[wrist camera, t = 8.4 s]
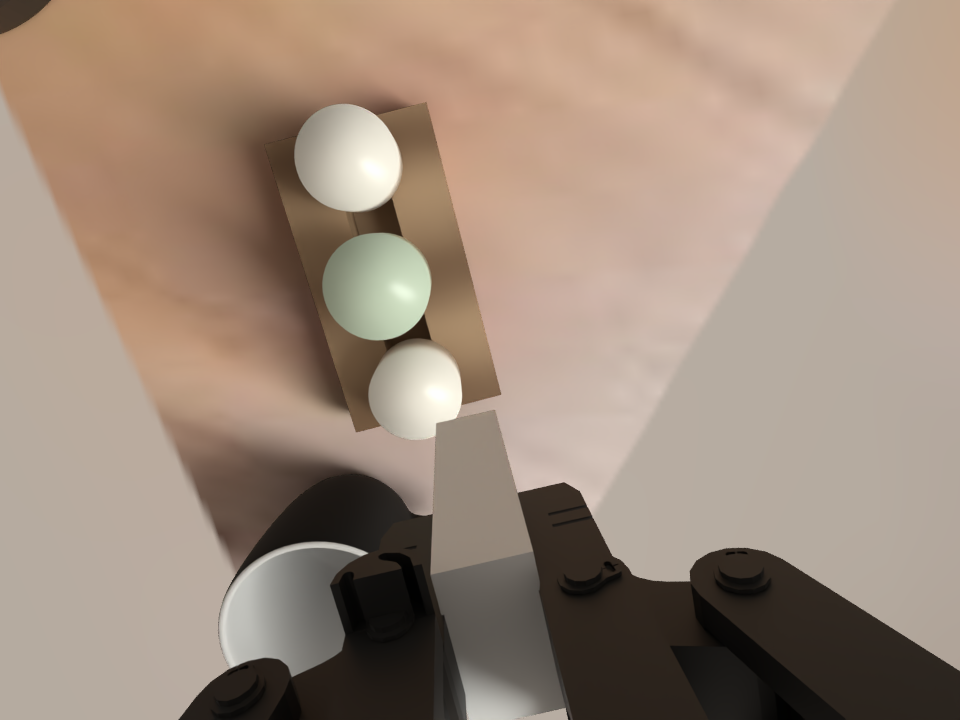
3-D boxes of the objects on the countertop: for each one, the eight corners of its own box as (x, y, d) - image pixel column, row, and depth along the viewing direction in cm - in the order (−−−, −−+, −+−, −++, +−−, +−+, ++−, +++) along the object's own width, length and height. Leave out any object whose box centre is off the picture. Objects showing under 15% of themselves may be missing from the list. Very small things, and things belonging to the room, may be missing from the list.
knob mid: (333, 244, 29) (308, 248, 24) (419, 222, 29) (413, 221, 24) (358, 330, 30) (340, 351, 25) (442, 308, 30) (441, 325, 25)
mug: (300, 601, 37) (248, 737, 27) (261, 470, 35) (189, 565, 25) (489, 562, 37) (505, 683, 28) (461, 429, 35) (466, 507, 26)
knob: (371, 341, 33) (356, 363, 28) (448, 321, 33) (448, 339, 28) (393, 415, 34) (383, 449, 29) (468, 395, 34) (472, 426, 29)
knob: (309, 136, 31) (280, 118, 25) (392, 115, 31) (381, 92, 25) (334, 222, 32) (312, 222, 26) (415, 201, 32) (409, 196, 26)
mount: (280, 152, 31) (264, 144, 29) (428, 113, 31) (426, 102, 29) (363, 415, 35) (356, 432, 32) (496, 380, 35) (501, 394, 32)
